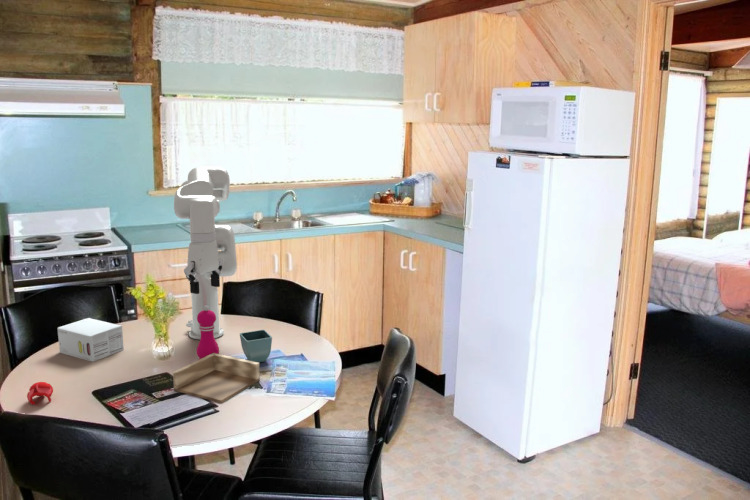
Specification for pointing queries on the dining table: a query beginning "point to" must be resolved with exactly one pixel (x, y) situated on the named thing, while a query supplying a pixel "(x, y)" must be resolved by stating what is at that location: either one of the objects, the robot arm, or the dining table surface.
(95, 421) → the dining table surface
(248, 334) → the flower pot
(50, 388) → the red curved piece
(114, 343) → the supplement box
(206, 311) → the pepper mill
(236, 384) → the board
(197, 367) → the corner fence
